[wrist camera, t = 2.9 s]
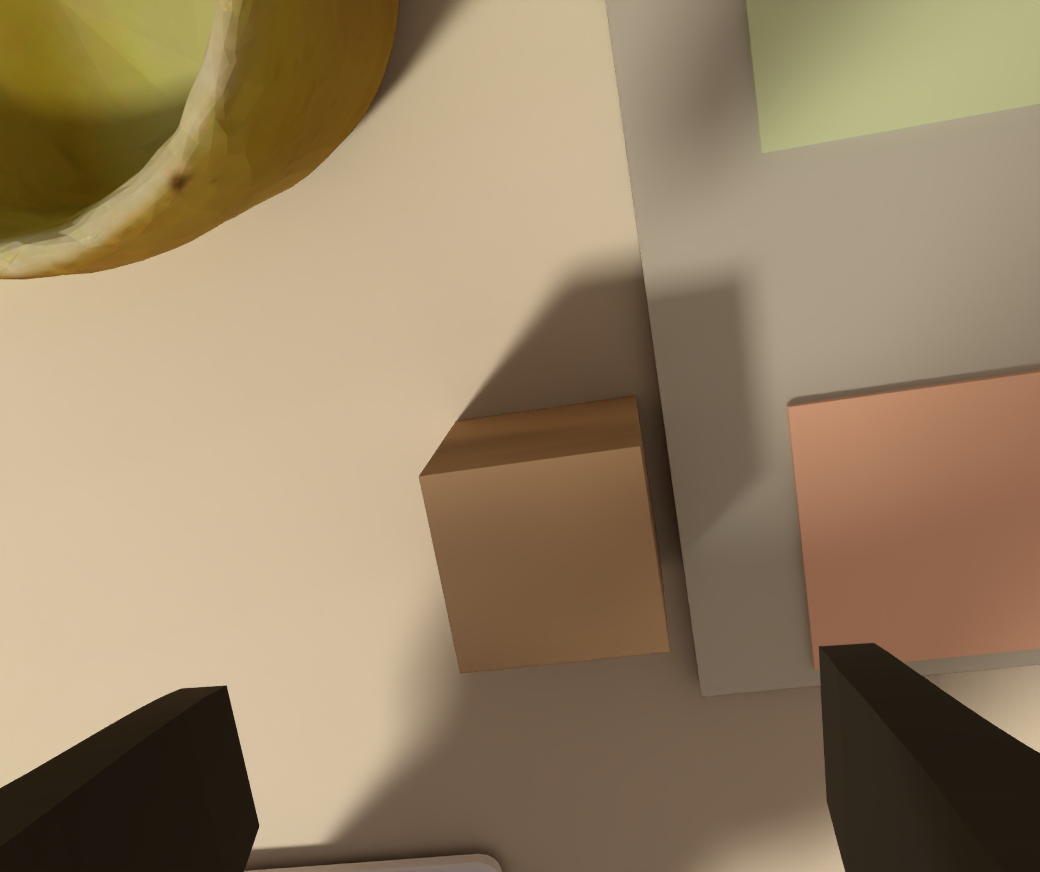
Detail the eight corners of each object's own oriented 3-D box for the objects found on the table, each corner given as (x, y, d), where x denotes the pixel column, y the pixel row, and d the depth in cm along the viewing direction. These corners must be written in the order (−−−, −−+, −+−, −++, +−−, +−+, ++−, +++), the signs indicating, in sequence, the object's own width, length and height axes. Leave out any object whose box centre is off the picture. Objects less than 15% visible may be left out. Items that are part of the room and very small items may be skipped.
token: (661, 564, 21) (669, 651, 17) (488, 584, 21) (459, 673, 18) (636, 394, 20) (640, 446, 16) (456, 420, 20) (418, 476, 17)
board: (1214, 632, 20) (1239, 651, 19) (699, 683, 21) (702, 701, 21) (1232, -340, 15) (1265, -368, 15) (580, -185, 17) (578, -202, 16)
